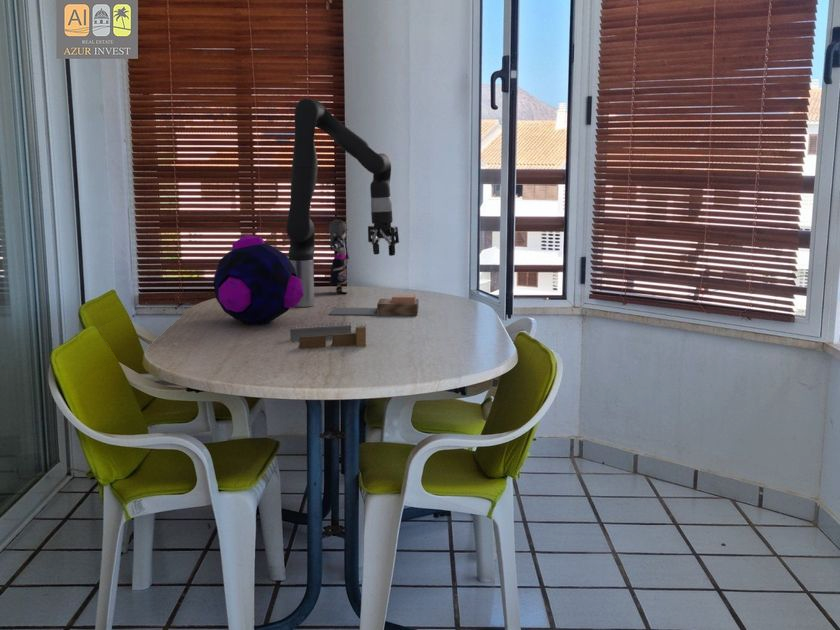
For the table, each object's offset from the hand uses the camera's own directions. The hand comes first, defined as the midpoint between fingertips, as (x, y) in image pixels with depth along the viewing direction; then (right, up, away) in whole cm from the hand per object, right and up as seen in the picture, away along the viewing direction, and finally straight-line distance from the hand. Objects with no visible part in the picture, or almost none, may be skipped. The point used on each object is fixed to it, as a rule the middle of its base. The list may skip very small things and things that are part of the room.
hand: (384, 254), depth 328 cm
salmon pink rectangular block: (+7, -17, -4) cm, 19 cm away
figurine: (-20, -14, +38) cm, 45 cm away
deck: (+5, -21, -4) cm, 22 cm away
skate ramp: (-13, -32, -61) cm, 70 cm away
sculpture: (-42, -25, -25) cm, 55 cm away
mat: (-11, -21, -3) cm, 24 cm away
